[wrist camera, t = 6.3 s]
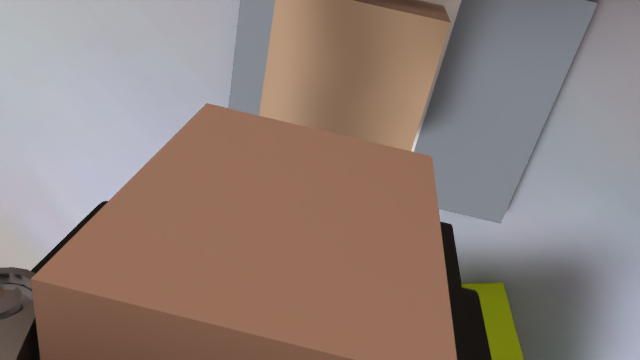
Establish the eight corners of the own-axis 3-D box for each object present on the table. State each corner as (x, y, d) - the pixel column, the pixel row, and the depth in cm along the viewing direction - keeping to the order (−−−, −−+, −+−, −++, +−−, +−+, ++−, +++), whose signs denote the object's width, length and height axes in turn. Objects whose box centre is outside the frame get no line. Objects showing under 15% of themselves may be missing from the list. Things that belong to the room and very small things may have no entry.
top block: (431, 156, 11) (460, 385, 6) (376, 323, 13) (359, 593, 8) (206, 103, 11) (31, 278, 6) (191, 278, 13) (58, 513, 8)
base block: (443, 5, 23) (451, 22, 20) (403, 141, 27) (403, 176, 23) (296, -28, 24) (277, -17, 20) (274, 110, 27) (255, 140, 24)
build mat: (590, -1, 23) (598, 3, 22) (497, 214, 29) (500, 224, 28) (254, -76, 24) (247, -75, 23) (228, 149, 30) (222, 157, 29)
